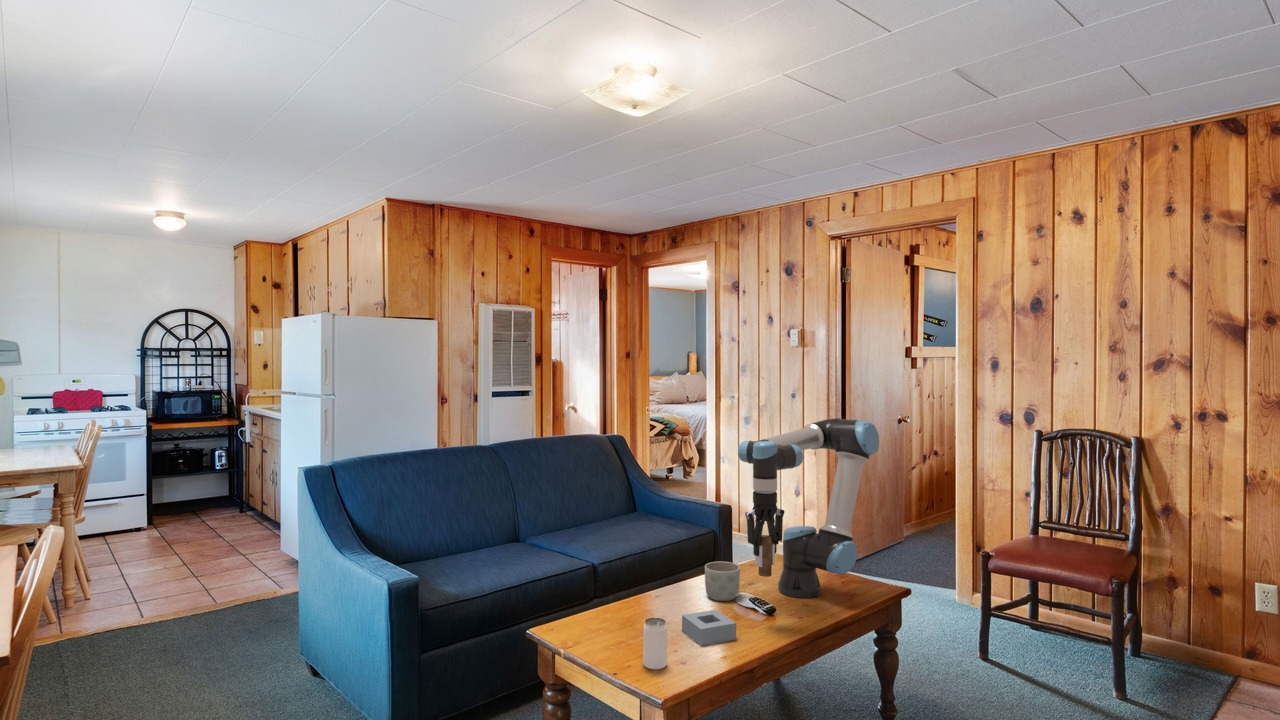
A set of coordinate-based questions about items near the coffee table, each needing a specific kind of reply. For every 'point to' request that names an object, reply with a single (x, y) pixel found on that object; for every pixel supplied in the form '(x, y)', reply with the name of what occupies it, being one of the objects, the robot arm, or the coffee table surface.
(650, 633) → the can
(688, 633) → the socket
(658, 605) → the coffee table surface
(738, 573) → the planter
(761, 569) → the dowel
